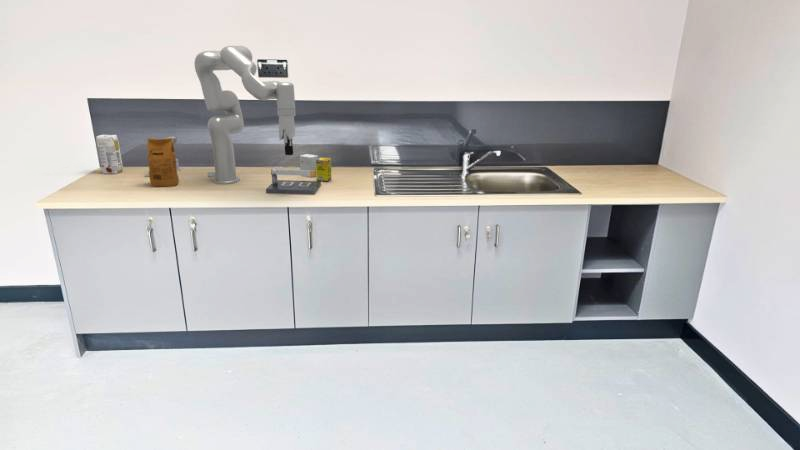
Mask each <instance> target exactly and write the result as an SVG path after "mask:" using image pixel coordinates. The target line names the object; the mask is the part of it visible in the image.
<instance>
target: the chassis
mask: <svg viewBox="0 0 800 450" xmlns="http://www.w3.org/2000/svg"><path fill="white" fill-rule="evenodd" d="M321 186H322V182H321V181H317V180H292V179H291V180H286V179H278V175H271V183H270V184H269V186H267V187H266V188H265V193H266V194H271V195H272V194H277V195H278V194H279V195H308V196H309V195H310V196H311V195H312V196H315V195H316V193H317V192H318V191H319V189H320V187H321Z"/></svg>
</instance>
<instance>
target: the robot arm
mask: <svg viewBox="0 0 800 450" xmlns="http://www.w3.org/2000/svg"><path fill="white" fill-rule="evenodd" d="M230 70H232V71H233V72H234V73H235V74H236V75H238V76H239V77H240V78H241V83H242V85H243V87H244V90H246V91H247V93H249V94H250V95H251V96H252V97H253V98H255V99H256V100H258V101H268V100H276V109H277V116H278V135H279V140H280V141H282V140H283V143H284V155H285V156H293V155H294V144H293V142H294V141H293V138H294V137H295V136H296V127H295V125H296V124H295V118H294V117H296V116H297V115H296V114H297V113H296V98H295V87H294V83H292V82H287V81H286V82H285V81H284V82H281V81H276V80H270V81H269V80H268V81H260V80H259V79H258V78H256V77H255V75H256V73H257V64H256V63H255V62H254V61H253V53H252V51H251V50H250V49H249V48H248V47H246V46H245V45H227V46H224V47H223V48H221V50H203V51H201V52H198V54H196V56H195V59H194V71H195V73H196V76H197V78H198V81H199V83H200V86H201V91H202V95H203V99H204V103H205V106H206V109H207V110H208V111H209V112H211V113H223V112H224V114H217V115H213V116H212V117H210V118H209V120H208V121H207V129H208V132H209V136H210V139H211V140H210V141H211V148H212V155H213V156H212V157H213V163H214V164H213V167H214V171H213V172H212V171H208V172H206V173H207V177H208V178H212V182H213V183H214V184H219V185H228V184H229V185H230V184H234V183H238V182H240V181H241V179H240V178H241V177H240V176H237V172H236V161H235V158H236V157H235V150H234V148H235V147H234V143H233V141H232V138H231V137H230V136H229V135H235V134H238V133H241V132H242V131H243V129H244V128H245V127H244V126H245V123H244V122H245V121H244V118H243V117H244V116H243V112H242V108H241V105H240V100H239V98H238V96H237V94H236V93H235V92H233V91H232V90H229V89H228V90H223V89H222V85H221V82H220V79H219V77H218V76H217V75H216V74H215V73H214V71H230Z"/></svg>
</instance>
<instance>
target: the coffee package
mask: <svg viewBox="0 0 800 450" xmlns="http://www.w3.org/2000/svg"><path fill="white" fill-rule="evenodd" d="M176 158H177V157H176V151H175V146H173V141H172V138H169V137H166V139H165V138H160V139H157V138H149V137H148V138H147V162H148V169H149V171H148V173H149V177H148V178H149V181H150V186H151V187H152V188H154V187H163V188H166V187H172V186H173V187H175V186H177V185H178V183H179V181H180V179H179V175H178V172H177V171H176V168H177V167H176Z"/></svg>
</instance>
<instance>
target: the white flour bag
mask: <svg viewBox="0 0 800 450" xmlns="http://www.w3.org/2000/svg"><path fill="white" fill-rule="evenodd" d="M95 139H96V140H95V141H96V146H97V151H98V152H97V153H98V155H99V156H98V157H99V163H100V167H101V171H102V173H103V174H104V175H118V174H120V173H122V172H123V170H124V166H123V165H124V164H123V159H122V155H121V150H120V149H121V148H120V143H119V138H118V136H117V134H100V135H97V136H95Z"/></svg>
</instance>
